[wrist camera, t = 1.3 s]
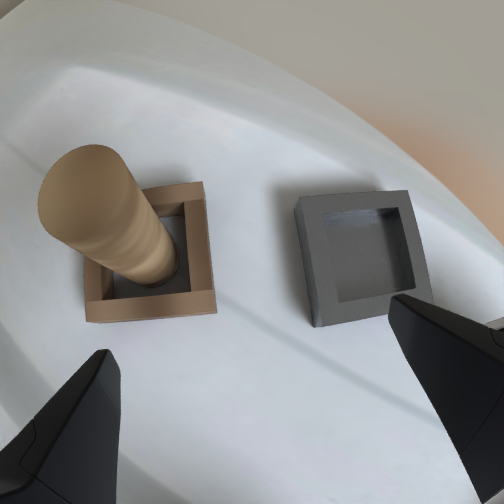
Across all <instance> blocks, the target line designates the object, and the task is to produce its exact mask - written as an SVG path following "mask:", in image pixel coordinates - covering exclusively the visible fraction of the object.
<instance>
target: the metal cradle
mask: <svg viewBox="0 0 504 504" xmlns="http://www.w3.org/2000/svg"><path fill="white" fill-rule="evenodd" d="M294 212H295V218H296V223H297V229H298V235H299V240H300V246H301V252H302V258H303V264H304V270H305V276H306V282H307V289H308V295H309V301H310V308H311V315H312V322H313V327H324V326H329V325H335V324H340V323H346V322H351V321H356V320H361V319H366V318H371V317H376V316H381V315H385V314H388V313H389V306H390V300H391V297H392V296H393V295H397V294H400V293H404V294H407V295H409V296H412V297H415V298H417V299H420V300H422V301H425V302H427V303H430V304H432V303H434V302H433V296H432V290H431V285H430V279H429V274H428V269H427V264H426V260H425V255H424V251H423V246H422V242H421V238H420V234H419V230H418V226H417V222H416V218H415V215H414V211H413V207H412V204H411V200H410V197H409V193H408V190H398V191H378V192H360V193H345V194H331V195H317V196H305V197H300V198H299V200H298V202H297V204H296V206H295V209H294Z"/></svg>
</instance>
